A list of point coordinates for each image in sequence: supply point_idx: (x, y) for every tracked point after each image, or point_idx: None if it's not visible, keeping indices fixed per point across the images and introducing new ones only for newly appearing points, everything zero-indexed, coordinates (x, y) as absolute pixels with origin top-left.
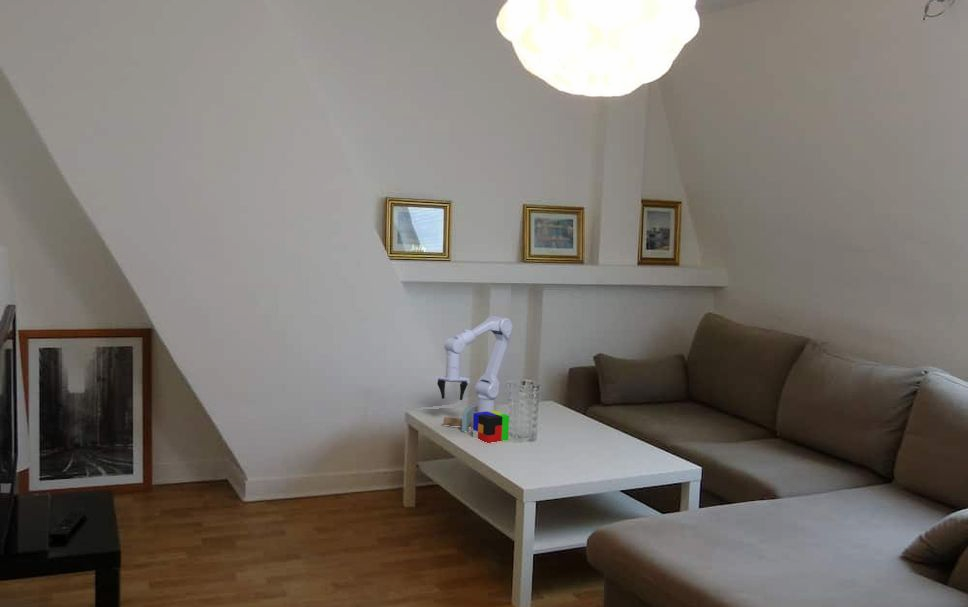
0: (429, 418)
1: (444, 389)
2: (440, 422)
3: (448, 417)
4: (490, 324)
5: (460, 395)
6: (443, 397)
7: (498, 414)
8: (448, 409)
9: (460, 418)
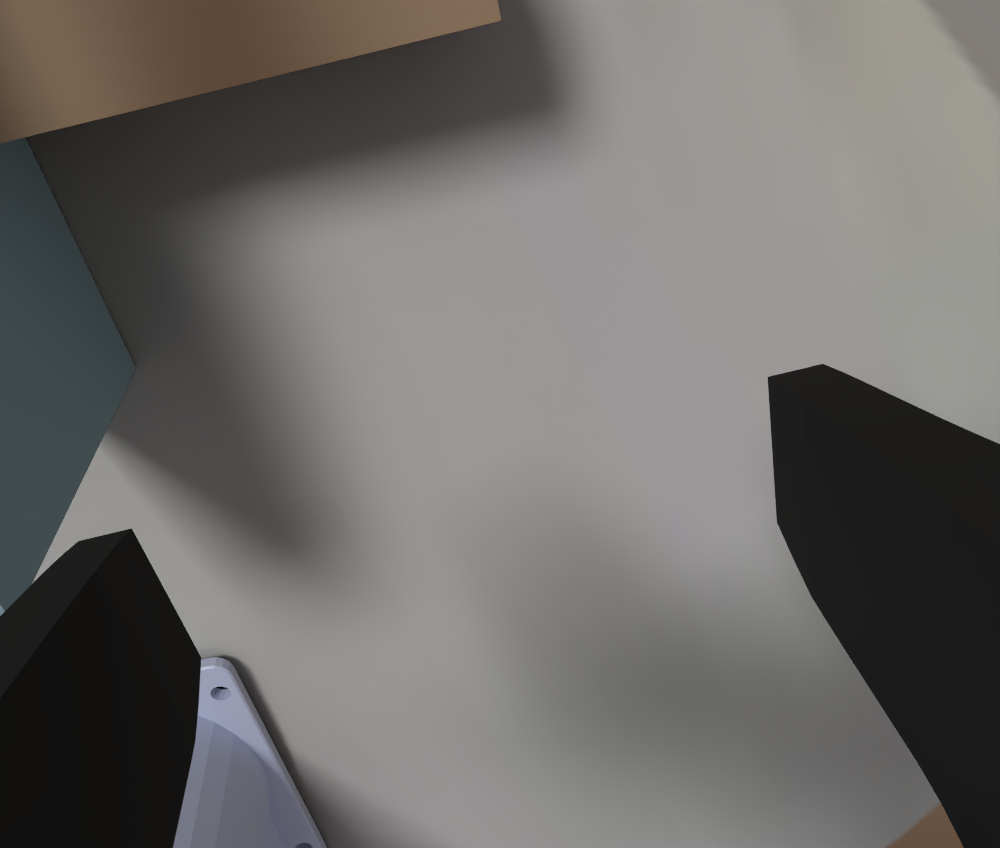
0: (925, 331)
1: (946, 782)
2: (652, 182)
3: (399, 37)
4: None
5: (25, 644)
6: (789, 404)
7: None
8: (791, 835)
9: (75, 110)
